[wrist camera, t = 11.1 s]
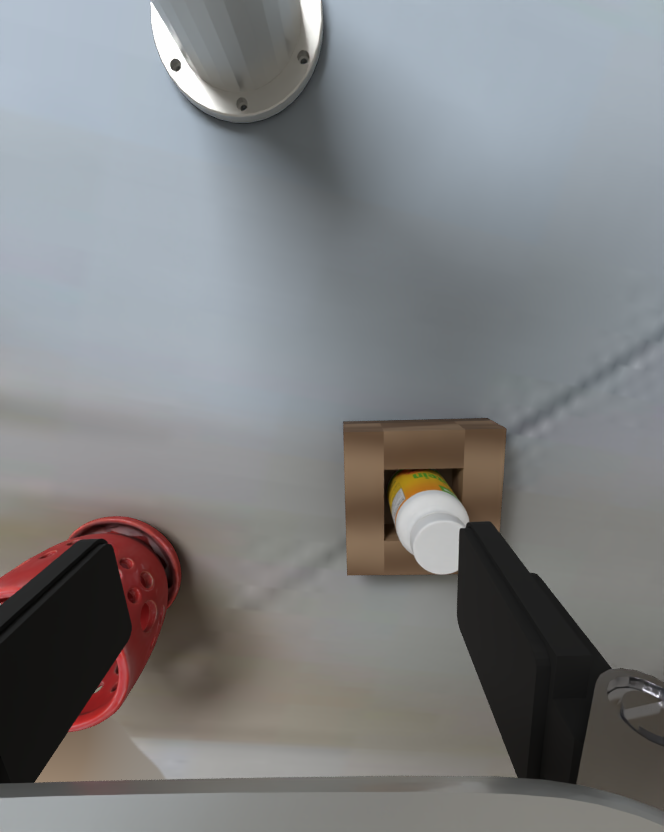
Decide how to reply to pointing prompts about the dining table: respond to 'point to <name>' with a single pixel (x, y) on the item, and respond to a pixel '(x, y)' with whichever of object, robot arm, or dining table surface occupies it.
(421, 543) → the supplement bottle
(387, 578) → the dining table surface
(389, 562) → the socket block
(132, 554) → the plant pot
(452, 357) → the dining table surface
